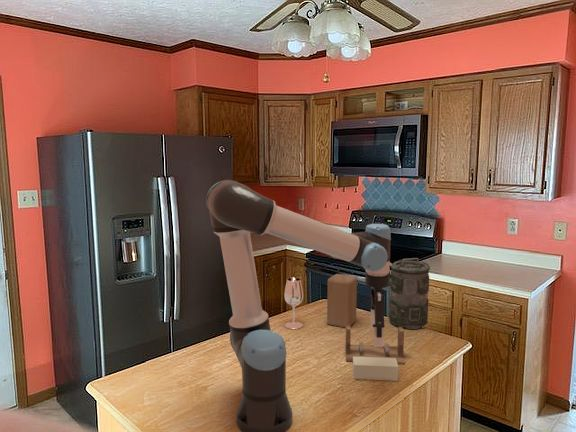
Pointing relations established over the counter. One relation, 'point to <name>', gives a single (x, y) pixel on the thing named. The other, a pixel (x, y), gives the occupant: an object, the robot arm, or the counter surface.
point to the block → (341, 300)
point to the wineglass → (293, 299)
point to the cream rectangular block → (375, 368)
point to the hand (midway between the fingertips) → (376, 337)
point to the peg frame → (375, 348)
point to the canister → (409, 293)
